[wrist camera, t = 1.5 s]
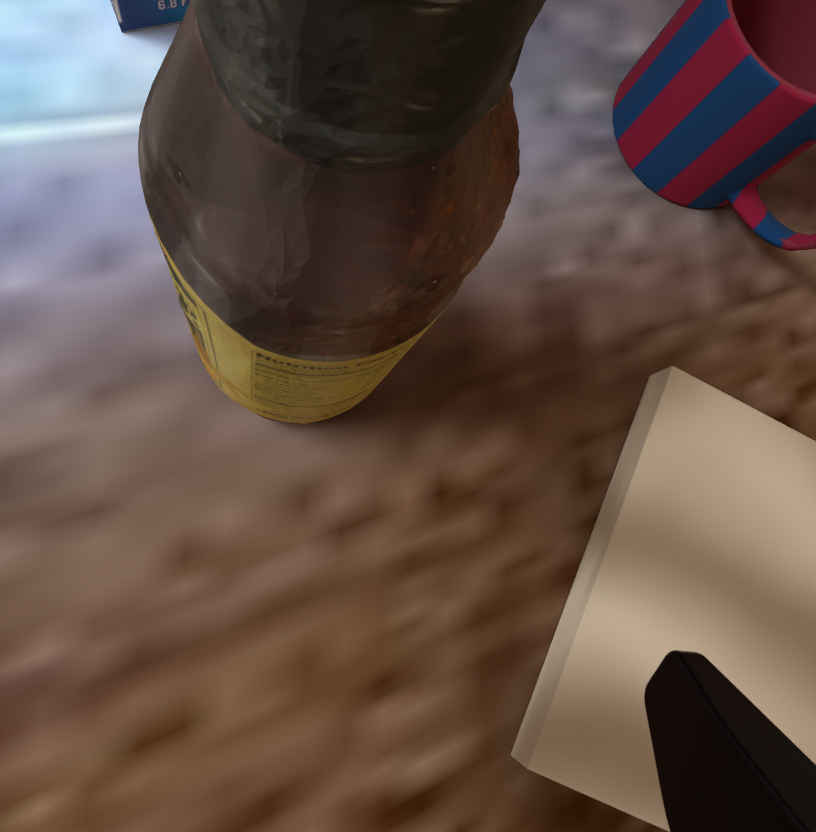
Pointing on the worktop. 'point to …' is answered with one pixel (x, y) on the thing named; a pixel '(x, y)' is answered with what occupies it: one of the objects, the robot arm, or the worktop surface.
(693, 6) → the cup
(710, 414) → the plate
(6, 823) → the worktop surface
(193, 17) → the sauce bottle
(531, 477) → the worktop surface
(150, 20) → the juice carton
